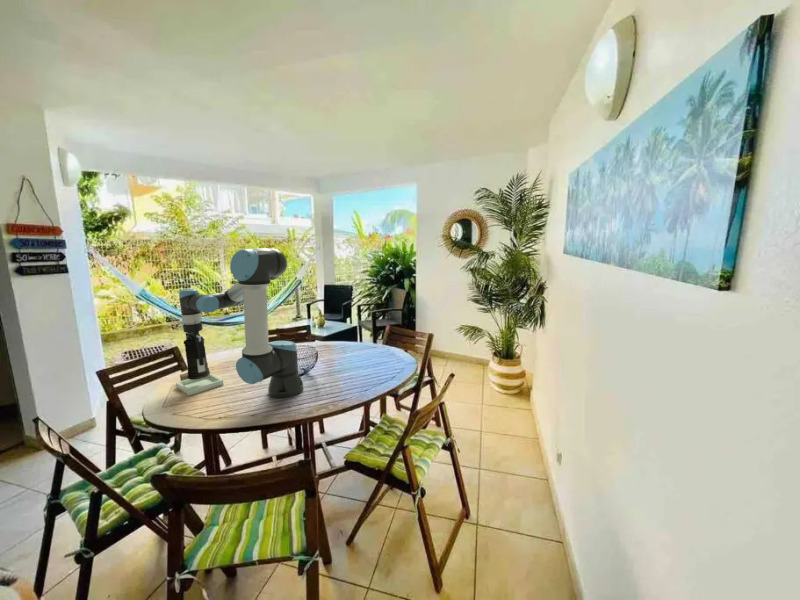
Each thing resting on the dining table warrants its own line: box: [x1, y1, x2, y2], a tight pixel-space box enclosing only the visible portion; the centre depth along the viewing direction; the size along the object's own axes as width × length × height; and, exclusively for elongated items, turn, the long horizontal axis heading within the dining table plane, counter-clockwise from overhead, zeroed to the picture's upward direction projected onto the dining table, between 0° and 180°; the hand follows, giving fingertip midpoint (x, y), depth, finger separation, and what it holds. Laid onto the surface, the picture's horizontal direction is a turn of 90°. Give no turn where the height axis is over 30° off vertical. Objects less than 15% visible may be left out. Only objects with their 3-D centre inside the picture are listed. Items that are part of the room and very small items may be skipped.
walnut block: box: [179, 372, 188, 381], centre depth 165 cm, size 4×4×4 cm
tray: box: [175, 372, 224, 397], centre depth 159 cm, size 15×15×2 cm
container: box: [183, 337, 211, 380], centre depth 157 cm, size 9×9×18 cm
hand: (198, 369), depth 158 cm, fingers closed on container, 8 cm apart
